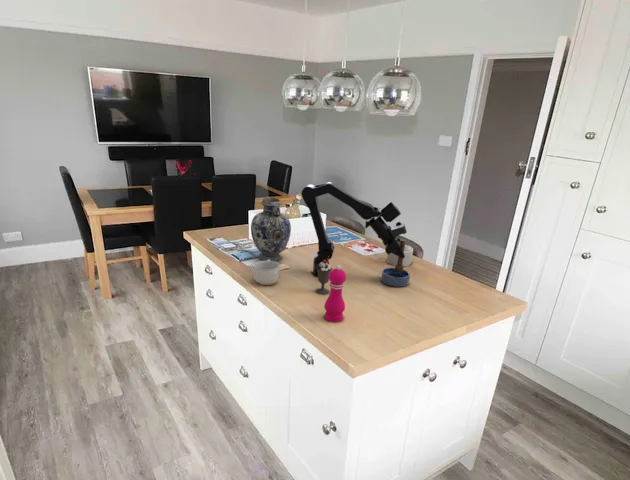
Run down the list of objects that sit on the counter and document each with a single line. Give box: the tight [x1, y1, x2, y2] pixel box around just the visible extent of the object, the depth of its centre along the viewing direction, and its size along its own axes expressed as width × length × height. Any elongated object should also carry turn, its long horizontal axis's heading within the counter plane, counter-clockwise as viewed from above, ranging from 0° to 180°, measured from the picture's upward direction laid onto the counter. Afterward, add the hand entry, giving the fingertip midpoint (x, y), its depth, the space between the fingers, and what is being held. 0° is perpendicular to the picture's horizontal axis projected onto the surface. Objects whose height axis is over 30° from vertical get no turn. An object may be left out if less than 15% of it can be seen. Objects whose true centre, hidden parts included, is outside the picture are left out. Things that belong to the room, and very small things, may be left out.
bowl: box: [380, 267, 411, 288], centre depth 183 cm, size 12×12×4 cm
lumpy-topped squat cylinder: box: [386, 244, 414, 267], centre depth 207 cm, size 10×13×9 cm
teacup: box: [252, 260, 280, 286], centre depth 173 cm, size 14×11×8 cm
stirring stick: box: [394, 239, 407, 273], centre depth 179 cm, size 4×4×14 cm
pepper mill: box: [324, 264, 347, 323], centre depth 144 cm, size 7×7×20 cm
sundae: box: [316, 256, 333, 295], centre depth 166 cm, size 7×7×15 cm
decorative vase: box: [250, 195, 292, 262], centre depth 196 cm, size 21×19×28 cm
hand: (404, 256), depth 179 cm, fingers closed on stirring stick, 2 cm apart
